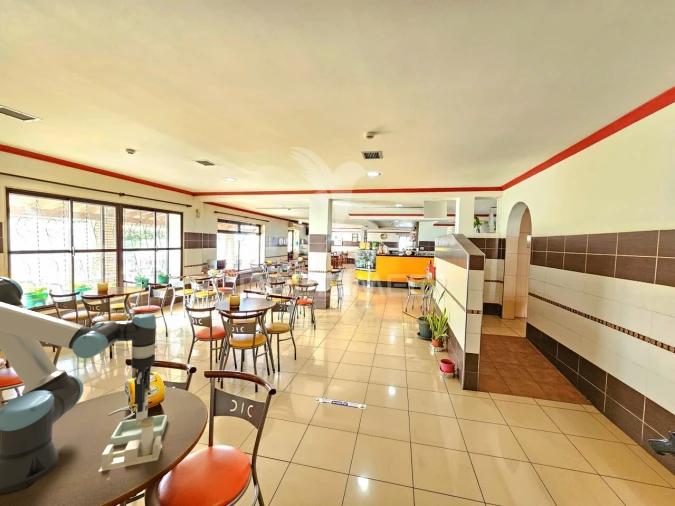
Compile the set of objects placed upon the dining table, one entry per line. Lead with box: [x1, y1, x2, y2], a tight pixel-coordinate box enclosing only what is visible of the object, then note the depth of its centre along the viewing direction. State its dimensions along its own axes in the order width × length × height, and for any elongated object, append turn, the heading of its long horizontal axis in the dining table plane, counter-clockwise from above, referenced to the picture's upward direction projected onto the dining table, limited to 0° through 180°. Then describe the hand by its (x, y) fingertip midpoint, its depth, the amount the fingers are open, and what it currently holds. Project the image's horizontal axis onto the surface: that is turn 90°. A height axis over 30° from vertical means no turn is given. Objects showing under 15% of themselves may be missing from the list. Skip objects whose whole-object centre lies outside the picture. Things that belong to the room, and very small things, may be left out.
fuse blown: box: [136, 388, 149, 425], centre depth 109 cm, size 4×4×12 cm
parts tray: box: [109, 413, 169, 447], centre depth 109 cm, size 16×11×4 cm
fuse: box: [140, 416, 154, 457], centre depth 98 cm, size 4×4×12 cm
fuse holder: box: [98, 436, 163, 472], centre depth 96 cm, size 16×8×5 cm, turn 111°
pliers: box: [107, 405, 136, 421], centre depth 126 cm, size 10×2×15 cm
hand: (141, 415), depth 109 cm, fingers closed on fuse blown, 3 cm apart
